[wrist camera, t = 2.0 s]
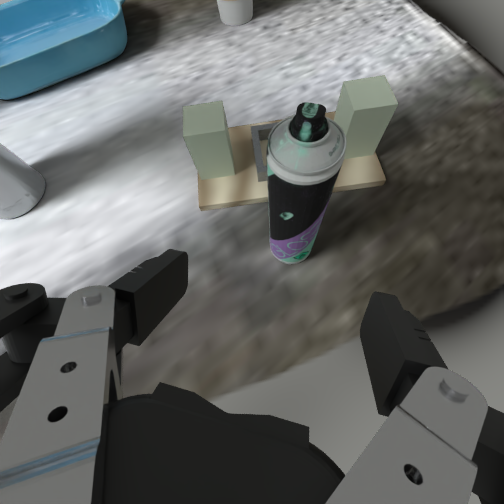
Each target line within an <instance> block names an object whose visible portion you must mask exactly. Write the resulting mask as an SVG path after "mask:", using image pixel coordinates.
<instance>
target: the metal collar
mask: <svg viewBox="0 0 504 504" xmlns="http://www.w3.org/2000/svg"><path fill="white" fill-rule="evenodd" d="M277 123H279V122H276V123H270V124H263V125H256V126H250V127H251V136H252V143H253V150H254V157H255V164H256V170H257V177H258V182H262V181H267V165H266V166H264V164H263V158H262V152H261V146H260V141H262V140H268V137H269V134H270V132H271V130H272V129H273V127H274V126H275V125H276V124H277Z"/></svg>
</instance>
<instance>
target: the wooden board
mask: <svg viewBox="0 0 504 504" xmlns="http://www.w3.org/2000/svg"><path fill="white" fill-rule="evenodd" d="M335 113H336V111H335V112H329V113H325V117H328V118H330V119H331V120H333V121H334V117H335ZM280 121H281V120H276V121H269V122H263V123H256V124H250V125H243V126H237V127H230V128H228V131H229V136H230V141H231V145H232V152H233V161H234V170H235V175H232V176H225V177H219V178H212V179H205V180H201V178H200V176H199V173H198V195H199V208H200V210H201V211H205V210H212V209H219V208H226V207H234V206H241V205H248V204H255V203H262V202H268V183H267V181H262V182H258V177H257V170H256V164H255V157H254V150H253V143H252V136H251V127H250V126H256V125H263V124H270V123H276V122H280ZM267 145H268V140H262V141H260V146H261V152H262V158H263V164H264V166H266V165H267V157H266V150H267ZM385 181H386V178H385V175H384V173H383V170H382V168H381V165H380V163H379V160H378V157H377V155H376V152H374V154H373V155H370V156H363V157H356V158H349V159H344V160H343V163H342V166H341V169H340V172H339V174H338V177H337V180H336V183H335V185H334V188H333V191H332V192H340V191H347V190H354V189H361V188H368V187H375V186H382V185H383V184H384V183H385Z"/></svg>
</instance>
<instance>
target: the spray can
mask: <svg viewBox="0 0 504 504" xmlns="http://www.w3.org/2000/svg"><path fill="white" fill-rule="evenodd" d="M325 113H326V108H325V107H324V106H323V105H320V104H314V103H301V104H300V105H299V106H298V107H297V112H296V114H295V115H292V116H289V117H287V118H285V119H283V120H281V121H280V122H279V123H277V124H276V125H275V126H274V127H273V129H272V130H271V132H270V134H269V137H268V145H267V150H266V157H267V183H268V208H269V234H270V248H271V251H272V254H273V255H274V256H275V257H276V258H277V259H278V260H279V261H281V262H283V263H287V264H296V263H299V262H302V261H303V260H305V259H306V258H307V257H308V255H309V254H310V252H311V249H312V247H313V244H314V241H315V238H316V235H317V233H318V230H319V227H320V224H321V222H322V219H323V216H324V213H325V210H326V208H327V205H328V202H329V199H330V197H331V194H332V191H333V188H334V185H335V183H336V180H337V177H338V174H339V172H340V169H341V166H342V163H343V160H344V157H345V150H346V144H347V142H346V136H345V134H344V131H343V130H342V128H341V127H340V126H339V125H338V124H337V123H336V122H335V121H333V120H331V119H330V118H328V117H325Z"/></svg>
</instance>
